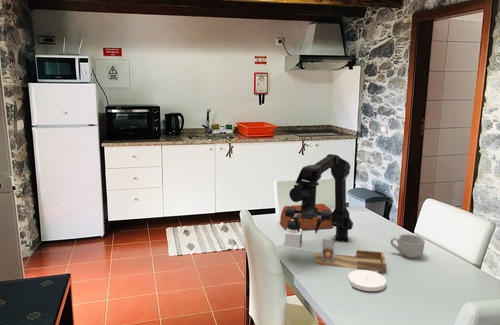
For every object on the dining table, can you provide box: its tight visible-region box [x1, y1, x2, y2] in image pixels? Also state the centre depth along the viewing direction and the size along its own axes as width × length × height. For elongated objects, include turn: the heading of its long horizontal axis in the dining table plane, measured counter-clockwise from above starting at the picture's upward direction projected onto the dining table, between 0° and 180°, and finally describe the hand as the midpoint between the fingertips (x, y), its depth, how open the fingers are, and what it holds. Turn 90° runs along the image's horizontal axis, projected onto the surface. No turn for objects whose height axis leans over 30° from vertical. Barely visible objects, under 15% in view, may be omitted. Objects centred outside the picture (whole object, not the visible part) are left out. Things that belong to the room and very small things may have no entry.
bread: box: [279, 203, 334, 231], centre depth 218 cm, size 16×27×11 cm, turn 103°
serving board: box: [314, 249, 387, 275], centre depth 174 cm, size 12×28×4 cm, turn 78°
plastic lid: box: [347, 269, 387, 292], centre depth 158 cm, size 14×14×2 cm
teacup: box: [390, 233, 426, 259], centre depth 183 cm, size 14×11×8 cm
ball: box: [324, 251, 331, 258], centre depth 175 cm, size 3×3×3 cm
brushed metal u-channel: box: [321, 238, 336, 263], centre depth 175 cm, size 5×5×8 cm
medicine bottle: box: [284, 220, 303, 248], centre depth 191 cm, size 7×7×12 cm
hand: (307, 232), depth 175 cm, fingers open, 7 cm apart
